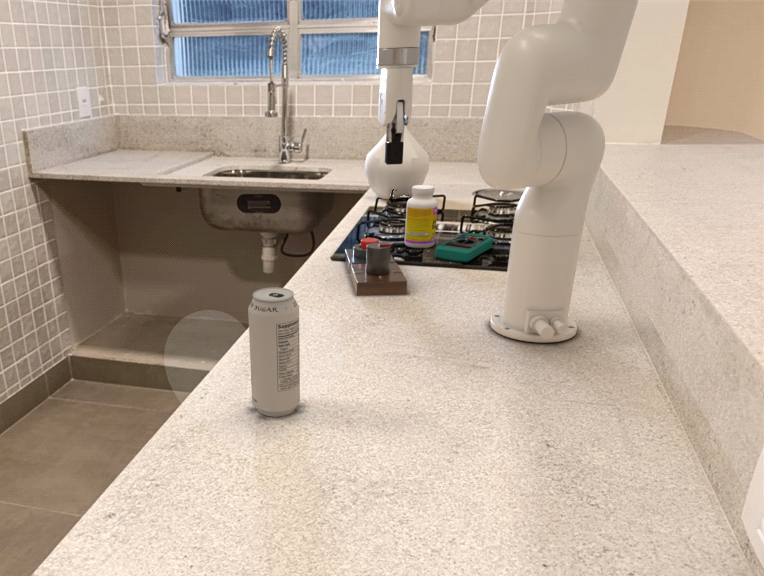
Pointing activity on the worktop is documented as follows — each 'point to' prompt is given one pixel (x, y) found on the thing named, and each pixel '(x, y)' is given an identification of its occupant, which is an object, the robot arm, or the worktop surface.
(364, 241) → the button
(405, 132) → the vase
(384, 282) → the dial panel
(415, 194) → the supplement bottle
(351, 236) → the worktop surface
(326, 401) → the worktop surface
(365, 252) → the button block
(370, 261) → the dial
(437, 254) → the digital multimeter
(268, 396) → the energy drink can
